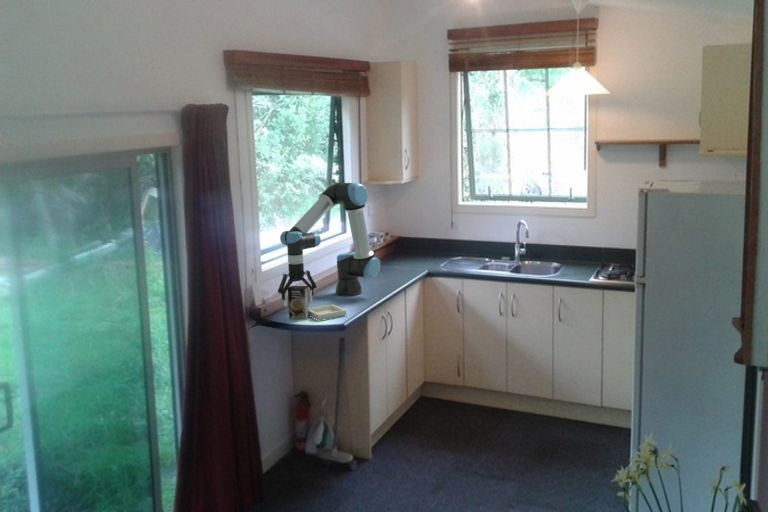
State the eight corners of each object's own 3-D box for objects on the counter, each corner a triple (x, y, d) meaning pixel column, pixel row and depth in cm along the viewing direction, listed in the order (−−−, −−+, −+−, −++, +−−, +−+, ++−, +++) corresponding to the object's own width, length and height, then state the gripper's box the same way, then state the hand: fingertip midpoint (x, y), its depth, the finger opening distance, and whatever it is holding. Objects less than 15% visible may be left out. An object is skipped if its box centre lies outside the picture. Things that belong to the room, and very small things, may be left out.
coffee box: (288, 319, 373) (286, 288, 370) (292, 316, 379) (290, 285, 376) (306, 319, 371) (304, 288, 368) (309, 316, 378) (307, 285, 375)
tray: (333, 309, 388) (332, 304, 388) (346, 315, 375) (346, 310, 375) (306, 314, 381) (305, 308, 380) (318, 321, 368) (318, 315, 367)
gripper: (315, 258, 379) (317, 299, 383) (269, 264, 367) (272, 306, 371) (321, 260, 373) (323, 301, 377) (275, 267, 361) (277, 309, 365)
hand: (298, 304), depth 374 cm, fingers open, 13 cm apart
